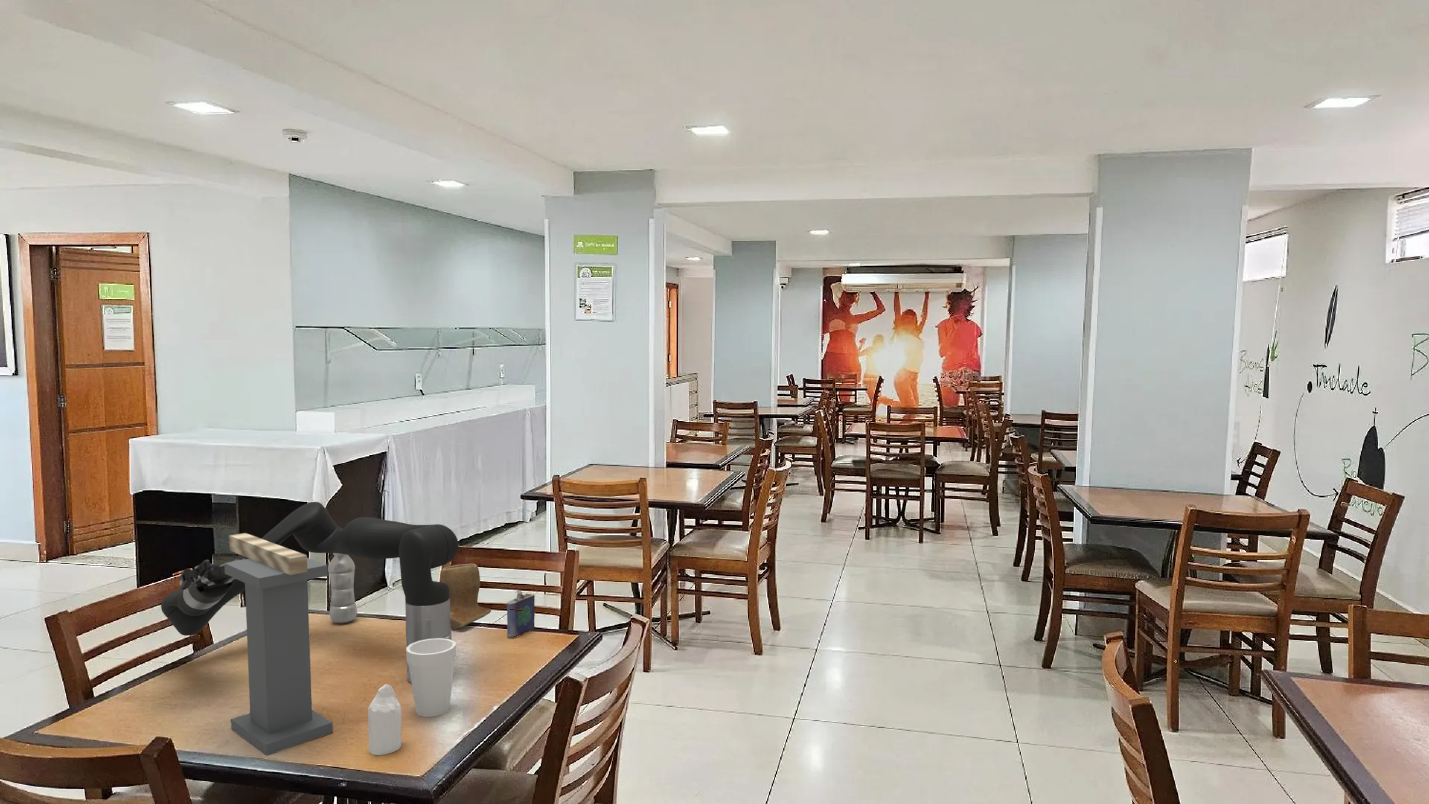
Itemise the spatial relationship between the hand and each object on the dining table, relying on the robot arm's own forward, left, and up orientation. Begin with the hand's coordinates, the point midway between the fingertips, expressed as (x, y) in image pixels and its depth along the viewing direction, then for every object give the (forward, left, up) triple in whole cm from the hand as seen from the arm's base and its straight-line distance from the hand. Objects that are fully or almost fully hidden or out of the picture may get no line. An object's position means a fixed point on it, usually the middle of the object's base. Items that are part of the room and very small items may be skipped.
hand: (231, 560), depth 177 cm
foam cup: (-39, +15, -29) cm, 51 cm away
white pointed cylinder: (-32, +30, -29) cm, 53 cm away
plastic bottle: (-12, -48, -29) cm, 58 cm away
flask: (-57, -28, -29) cm, 70 cm away
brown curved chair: (-42, -41, -29) cm, 66 cm away
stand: (-12, +18, -29) cm, 36 cm away
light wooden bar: (-10, +15, +3) cm, 18 cm away
